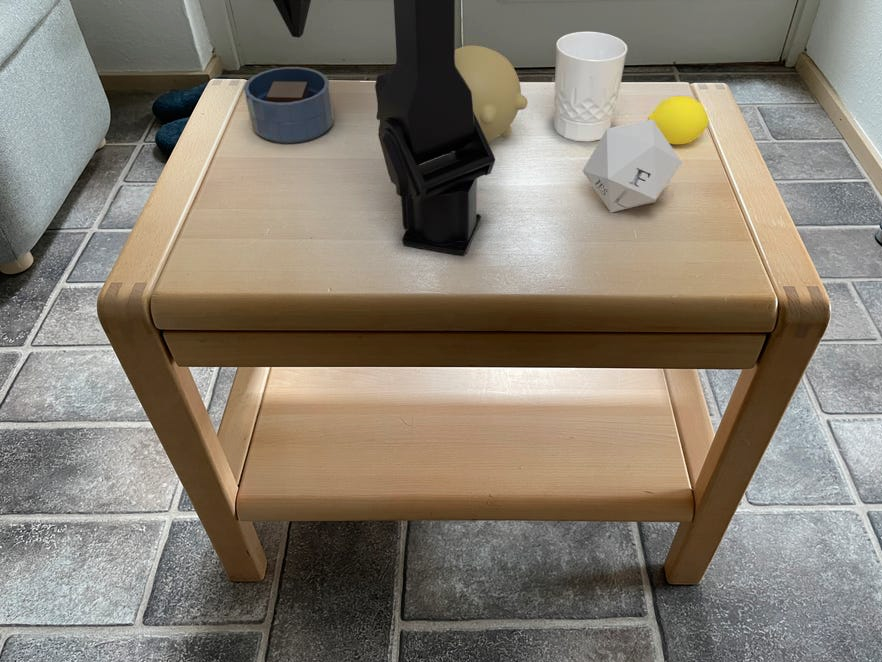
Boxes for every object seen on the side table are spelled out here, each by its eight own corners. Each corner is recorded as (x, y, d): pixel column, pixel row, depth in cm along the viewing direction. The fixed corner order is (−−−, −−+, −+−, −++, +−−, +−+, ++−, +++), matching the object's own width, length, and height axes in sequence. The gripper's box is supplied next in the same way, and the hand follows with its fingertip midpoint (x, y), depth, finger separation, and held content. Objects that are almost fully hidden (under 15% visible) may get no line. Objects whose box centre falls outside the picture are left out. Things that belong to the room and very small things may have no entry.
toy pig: (498, 151, 93) (457, 74, 92) (553, 105, 83) (507, 18, 82) (438, 177, 88) (394, 95, 87) (489, 131, 78) (439, 38, 77)
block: (312, 113, 91) (307, 81, 88) (306, 129, 88) (301, 97, 85) (279, 113, 91) (273, 81, 88) (272, 129, 88) (266, 96, 85)
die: (564, 206, 79) (602, 168, 70) (587, 134, 82) (627, 88, 72) (635, 236, 81) (681, 203, 71) (656, 165, 83) (703, 123, 73)
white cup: (622, 142, 88) (636, 58, 81) (557, 147, 87) (566, 62, 80) (604, 111, 93) (615, 29, 86) (542, 115, 92) (549, 33, 85)
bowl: (346, 112, 92) (341, 72, 88) (314, 150, 85) (308, 109, 82) (274, 101, 94) (267, 62, 90) (238, 138, 87) (228, 97, 84)
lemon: (702, 132, 90) (712, 89, 86) (705, 155, 86) (717, 111, 82) (643, 128, 90) (651, 85, 86) (644, 150, 87) (652, 106, 83)
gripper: (134, -119, 66) (182, 55, 77) (329, -103, 63) (350, 77, 74) (198, -146, 74) (233, 16, 85) (375, -133, 71) (388, 34, 82)
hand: (297, 36), depth 81 cm, fingers closed
